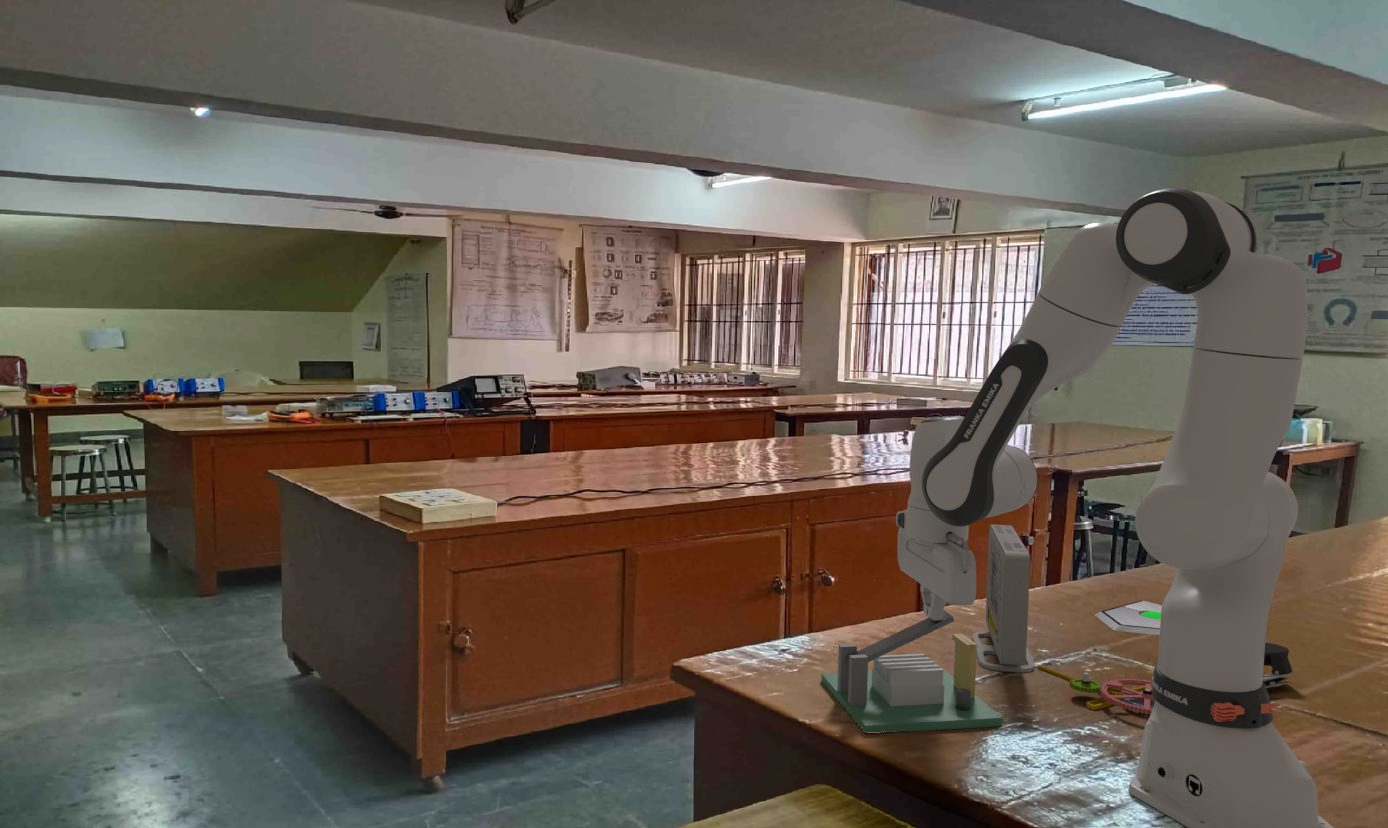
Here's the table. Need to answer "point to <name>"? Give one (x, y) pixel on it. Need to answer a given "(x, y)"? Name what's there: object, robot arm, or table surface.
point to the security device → (1133, 617)
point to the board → (916, 712)
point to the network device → (1006, 602)
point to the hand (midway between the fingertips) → (932, 617)
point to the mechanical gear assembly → (1113, 692)
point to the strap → (903, 637)
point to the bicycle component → (1276, 664)
